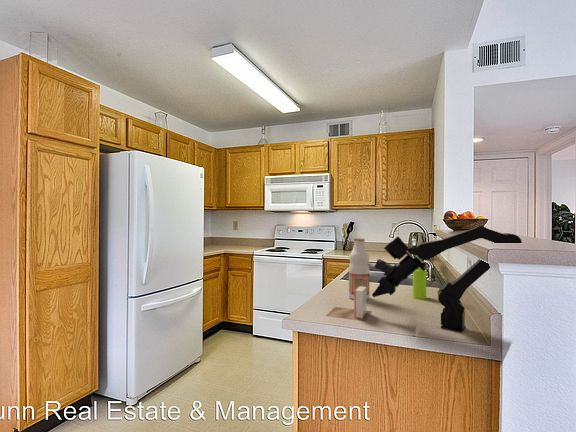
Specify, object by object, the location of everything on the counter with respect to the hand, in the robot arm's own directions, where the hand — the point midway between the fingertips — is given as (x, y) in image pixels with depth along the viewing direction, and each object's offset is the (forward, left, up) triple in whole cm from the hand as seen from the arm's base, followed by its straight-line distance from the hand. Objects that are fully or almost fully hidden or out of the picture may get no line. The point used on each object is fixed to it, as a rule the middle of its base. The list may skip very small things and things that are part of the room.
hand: (372, 295), depth 119 cm
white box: (+4, +1, -8) cm, 9 cm away
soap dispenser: (-3, -44, -8) cm, 44 cm away
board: (+8, +3, -8) cm, 12 cm away
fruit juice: (+18, -23, -8) cm, 30 cm away
